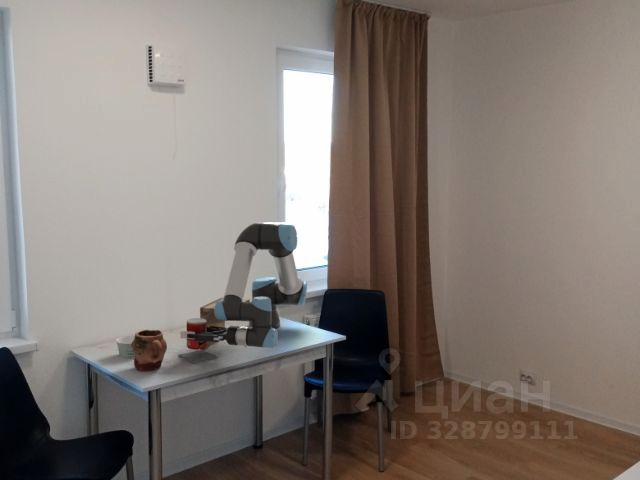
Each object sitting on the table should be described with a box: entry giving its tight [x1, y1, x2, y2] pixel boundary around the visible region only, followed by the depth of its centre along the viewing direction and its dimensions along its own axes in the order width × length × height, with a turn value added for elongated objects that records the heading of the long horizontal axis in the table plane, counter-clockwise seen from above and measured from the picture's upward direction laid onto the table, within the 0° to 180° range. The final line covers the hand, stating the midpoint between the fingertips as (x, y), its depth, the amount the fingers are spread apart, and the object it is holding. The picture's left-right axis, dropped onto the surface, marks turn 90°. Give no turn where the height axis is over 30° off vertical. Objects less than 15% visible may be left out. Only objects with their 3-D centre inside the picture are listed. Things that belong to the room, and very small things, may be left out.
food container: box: [115, 335, 135, 359], centre depth 260 cm, size 12×12×6 cm
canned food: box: [186, 317, 207, 351], centre depth 255 cm, size 8×8×11 cm
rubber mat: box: [177, 349, 218, 364], centre depth 257 cm, size 11×11×1 cm
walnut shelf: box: [199, 297, 251, 351], centre depth 275 cm, size 14×22×18 cm, turn 165°
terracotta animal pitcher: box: [131, 329, 168, 372], centre depth 241 cm, size 20×12×14 cm, turn 45°
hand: (185, 331), depth 257 cm, fingers closed on canned food, 8 cm apart
